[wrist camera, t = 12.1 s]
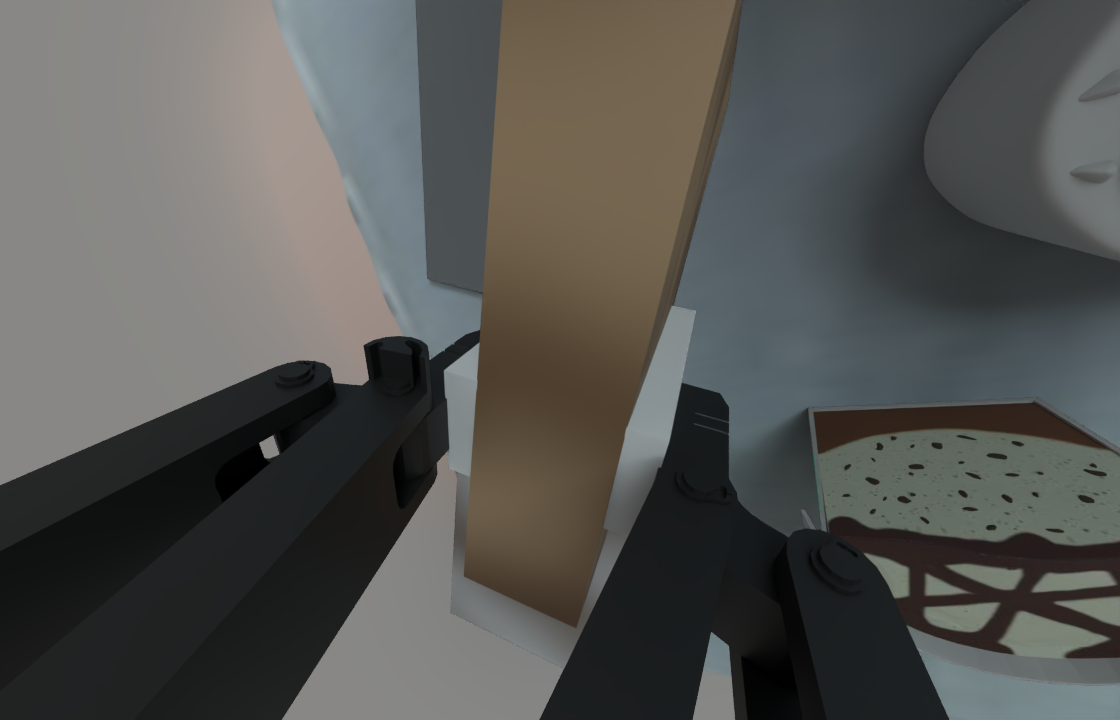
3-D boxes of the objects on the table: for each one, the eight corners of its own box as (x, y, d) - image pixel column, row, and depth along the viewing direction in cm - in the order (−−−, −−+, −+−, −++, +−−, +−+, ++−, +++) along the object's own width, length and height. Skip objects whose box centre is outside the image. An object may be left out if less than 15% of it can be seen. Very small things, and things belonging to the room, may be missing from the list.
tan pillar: (550, 86, 13) (352, -59, 6) (824, 112, 11) (1031, -63, 4) (499, 537, 21) (390, 705, 14) (650, 601, 19) (612, 836, 12)
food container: (785, 491, 26) (815, 654, 17) (778, 408, 23) (809, 549, 15) (1059, 499, 20) (1294, 738, 12) (1083, 395, 18) (1388, 597, 10)
